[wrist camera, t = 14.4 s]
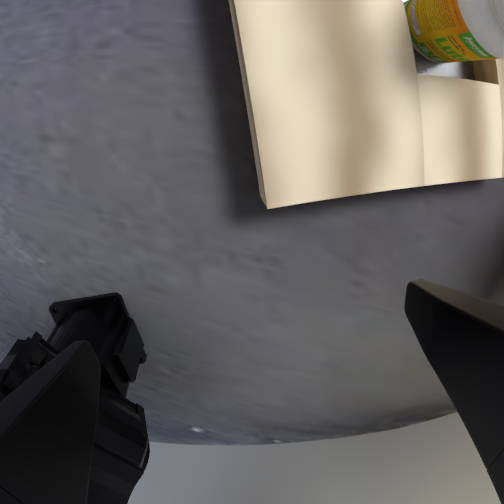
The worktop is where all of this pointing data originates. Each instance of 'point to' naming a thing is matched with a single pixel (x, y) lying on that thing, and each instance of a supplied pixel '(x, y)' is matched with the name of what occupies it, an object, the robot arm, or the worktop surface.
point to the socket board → (359, 102)
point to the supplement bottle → (456, 29)
